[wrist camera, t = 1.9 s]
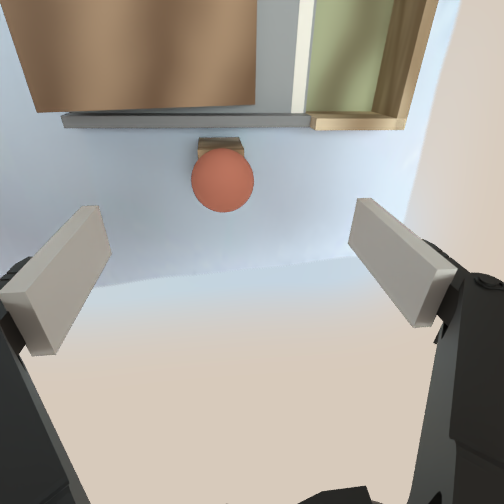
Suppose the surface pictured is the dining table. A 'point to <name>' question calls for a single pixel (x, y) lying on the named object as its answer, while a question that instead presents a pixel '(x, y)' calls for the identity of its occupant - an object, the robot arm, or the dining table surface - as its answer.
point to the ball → (222, 180)
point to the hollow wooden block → (219, 144)
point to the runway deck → (267, 81)
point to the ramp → (135, 52)
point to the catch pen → (366, 62)
